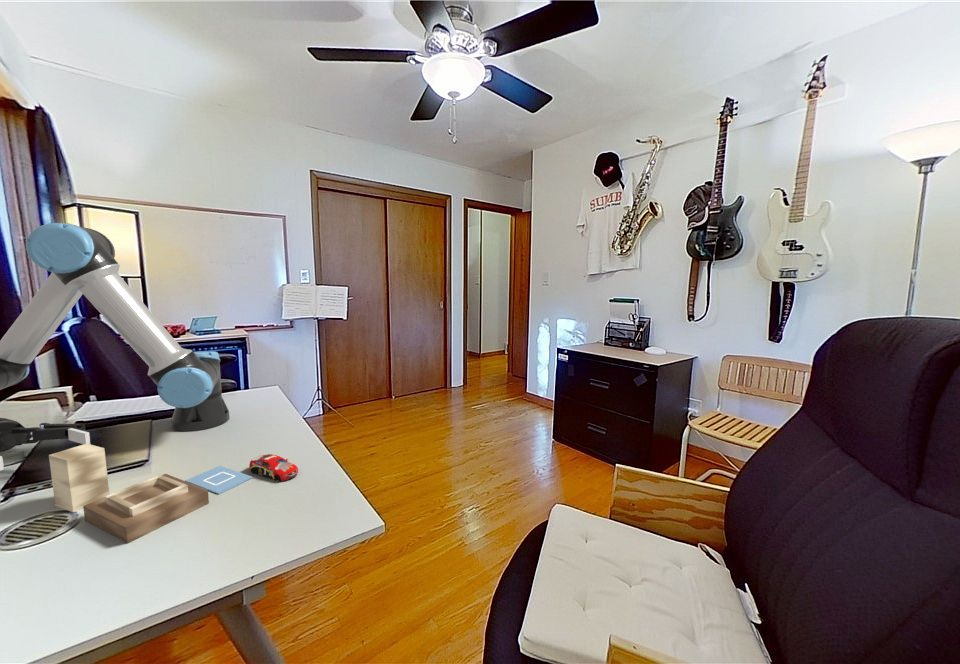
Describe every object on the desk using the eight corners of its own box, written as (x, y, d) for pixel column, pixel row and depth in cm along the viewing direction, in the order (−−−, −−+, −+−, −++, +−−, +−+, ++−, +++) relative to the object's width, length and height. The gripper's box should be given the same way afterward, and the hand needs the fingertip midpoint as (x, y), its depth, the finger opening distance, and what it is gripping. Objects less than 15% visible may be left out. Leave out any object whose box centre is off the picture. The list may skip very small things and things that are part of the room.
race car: (302, 475, 96) (302, 460, 95) (283, 485, 91) (283, 469, 90) (266, 462, 101) (265, 448, 101) (246, 472, 96) (245, 456, 96)
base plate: (166, 486, 89) (165, 467, 88) (208, 503, 83) (207, 483, 82) (84, 520, 76) (82, 498, 75) (127, 543, 70) (125, 519, 69)
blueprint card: (220, 466, 98) (219, 465, 98) (252, 478, 93) (252, 476, 93) (185, 481, 91) (185, 480, 91) (218, 494, 86) (218, 492, 86)
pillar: (92, 491, 86) (86, 443, 84) (109, 496, 84) (104, 448, 82) (55, 506, 80) (48, 455, 79) (73, 512, 78) (66, 460, 77)
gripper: (65, 430, 103) (118, 444, 96) (-97, 473, 79) (-43, 496, 73) (62, 403, 102) (115, 415, 95) (-103, 437, 78) (-48, 457, 72)
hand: (47, 450), depth 84 cm, fingers open, 13 cm apart
